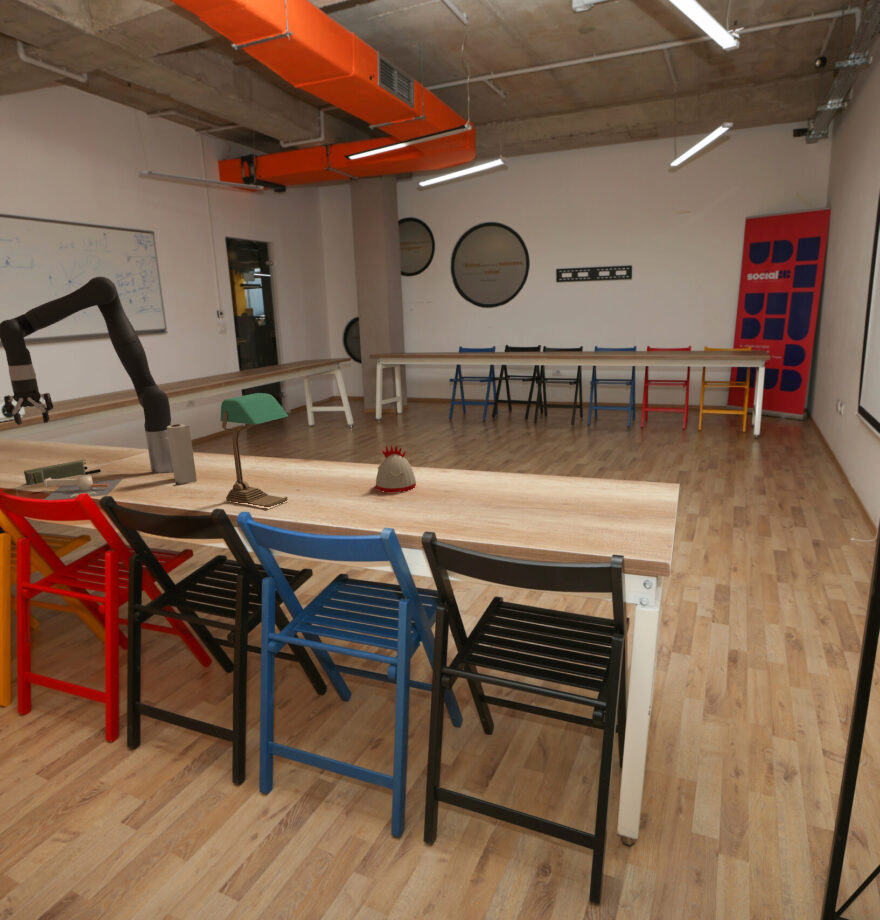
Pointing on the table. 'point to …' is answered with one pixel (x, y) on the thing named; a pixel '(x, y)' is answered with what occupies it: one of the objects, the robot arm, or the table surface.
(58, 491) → the gauge board
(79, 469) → the handheld radio
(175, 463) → the paper towel roll
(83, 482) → the lever with orange pointer
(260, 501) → the banker's lamp
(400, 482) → the beige knit hat
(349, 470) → the table surface
